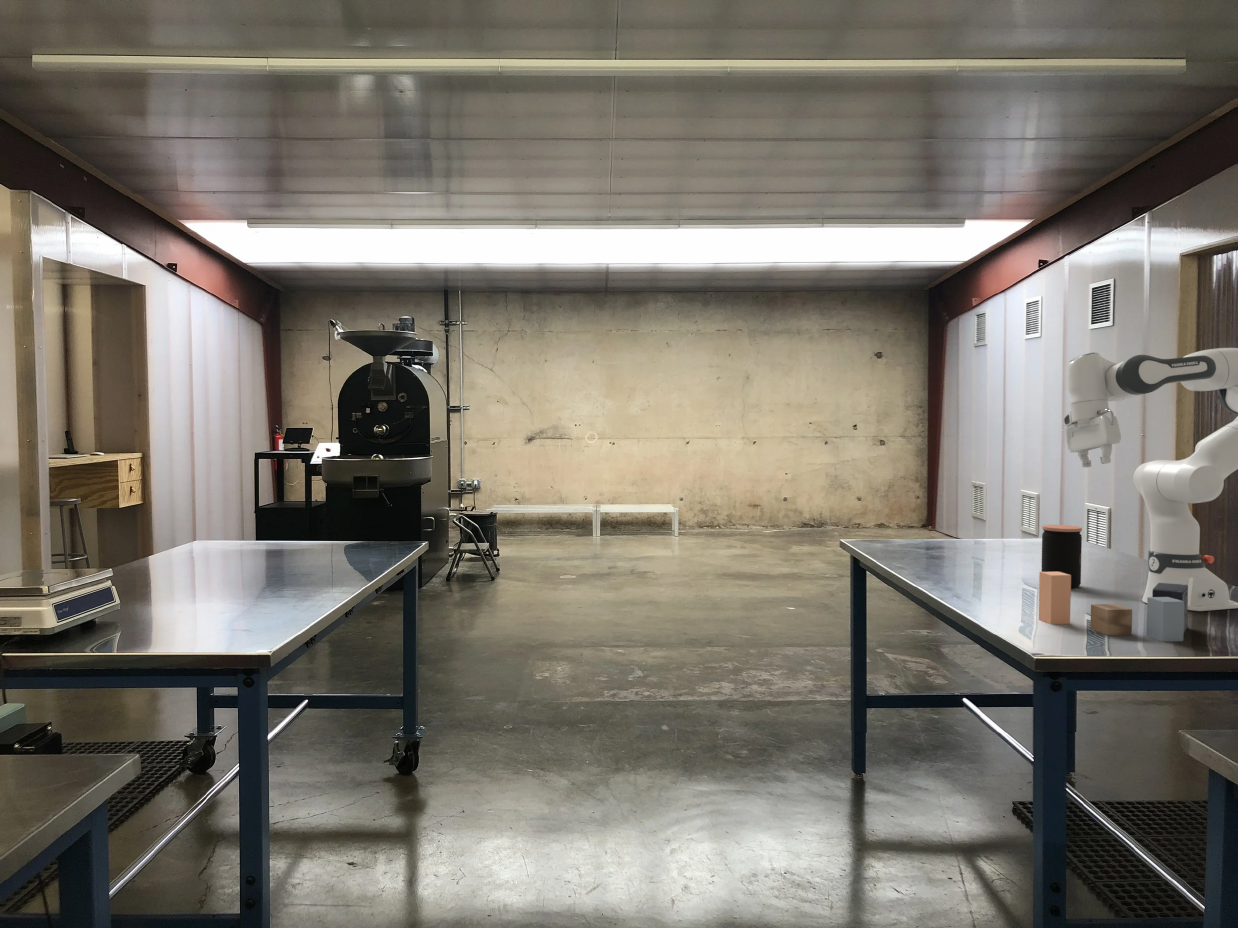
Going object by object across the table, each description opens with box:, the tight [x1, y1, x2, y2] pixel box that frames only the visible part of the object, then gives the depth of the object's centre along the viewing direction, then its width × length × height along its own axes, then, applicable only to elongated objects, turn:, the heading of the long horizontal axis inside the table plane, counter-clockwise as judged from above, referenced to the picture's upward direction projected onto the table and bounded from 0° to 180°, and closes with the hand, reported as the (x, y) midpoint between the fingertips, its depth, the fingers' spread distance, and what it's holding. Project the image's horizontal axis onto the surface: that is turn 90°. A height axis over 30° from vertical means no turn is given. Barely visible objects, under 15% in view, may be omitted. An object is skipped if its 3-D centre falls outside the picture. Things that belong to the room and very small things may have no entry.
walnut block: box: [1090, 603, 1133, 636], centre depth 195 cm, size 6×6×6 cm
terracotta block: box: [1038, 571, 1072, 625], centre depth 206 cm, size 5×5×12 cm
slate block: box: [1146, 597, 1185, 643], centre depth 189 cm, size 5×5×9 cm
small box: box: [1152, 583, 1189, 636], centre depth 197 cm, size 11×6×10 cm, turn 141°
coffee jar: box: [1040, 524, 1083, 590], centre depth 252 cm, size 11×11×18 cm
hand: (1096, 465), depth 220 cm, fingers open, 8 cm apart
